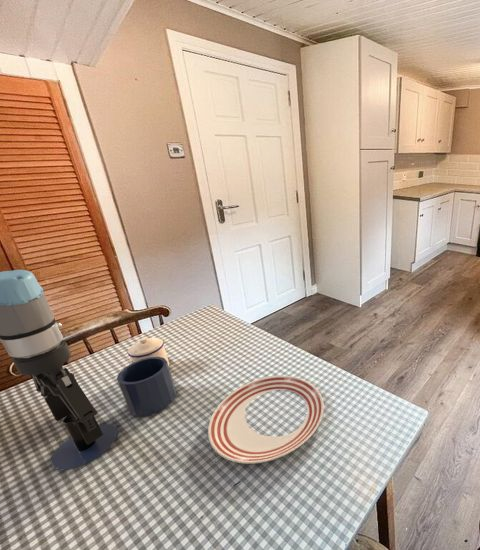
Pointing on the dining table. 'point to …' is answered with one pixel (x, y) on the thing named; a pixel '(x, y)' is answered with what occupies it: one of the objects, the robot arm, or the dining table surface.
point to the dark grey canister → (147, 386)
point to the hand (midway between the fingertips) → (79, 427)
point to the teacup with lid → (147, 349)
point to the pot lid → (82, 446)
